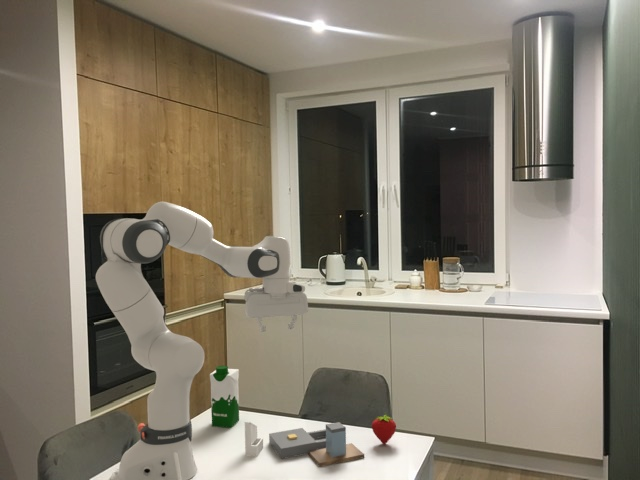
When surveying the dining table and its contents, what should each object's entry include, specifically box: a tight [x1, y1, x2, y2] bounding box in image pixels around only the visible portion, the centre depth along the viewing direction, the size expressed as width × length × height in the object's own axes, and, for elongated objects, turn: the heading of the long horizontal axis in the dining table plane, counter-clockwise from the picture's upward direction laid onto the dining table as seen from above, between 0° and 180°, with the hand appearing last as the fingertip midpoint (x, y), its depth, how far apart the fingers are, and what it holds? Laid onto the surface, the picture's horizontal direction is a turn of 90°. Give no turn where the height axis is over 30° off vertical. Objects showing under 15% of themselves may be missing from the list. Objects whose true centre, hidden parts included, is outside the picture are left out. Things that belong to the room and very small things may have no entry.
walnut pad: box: [308, 442, 365, 467], centre depth 157 cm, size 14×8×1 cm, turn 112°
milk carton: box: [209, 365, 240, 429], centre depth 183 cm, size 9×9×20 cm
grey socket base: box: [268, 427, 326, 460], centre depth 165 cm, size 19×12×4 cm, turn 112°
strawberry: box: [371, 413, 397, 445], centre depth 165 cm, size 6×8×10 cm
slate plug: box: [325, 421, 347, 457], centre depth 157 cm, size 4×4×8 cm
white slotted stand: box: [244, 421, 264, 457], centre depth 160 cm, size 4×10×9 cm, turn 168°
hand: (276, 330), depth 171 cm, fingers open, 8 cm apart
